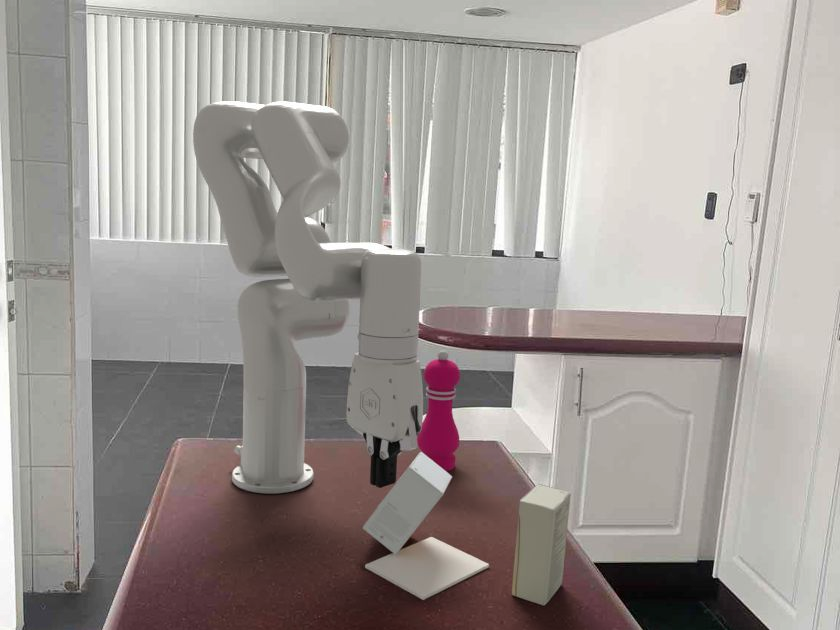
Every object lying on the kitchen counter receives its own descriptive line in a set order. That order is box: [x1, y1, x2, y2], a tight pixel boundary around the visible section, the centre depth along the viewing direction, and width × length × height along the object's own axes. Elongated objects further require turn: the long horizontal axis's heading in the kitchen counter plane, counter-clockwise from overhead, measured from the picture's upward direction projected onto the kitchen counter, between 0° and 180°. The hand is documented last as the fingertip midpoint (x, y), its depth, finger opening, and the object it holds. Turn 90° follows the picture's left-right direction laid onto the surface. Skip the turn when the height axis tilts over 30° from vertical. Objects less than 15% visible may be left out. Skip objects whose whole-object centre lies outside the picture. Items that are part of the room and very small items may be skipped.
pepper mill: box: [416, 349, 461, 472], centre depth 132 cm, size 7×7×20 cm
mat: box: [364, 536, 490, 601], centre depth 99 cm, size 10×12×1 cm
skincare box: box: [511, 483, 572, 606], centre depth 94 cm, size 6×4×12 cm
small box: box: [362, 451, 453, 554], centre depth 103 cm, size 8×6×10 cm
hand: (383, 483), depth 103 cm, fingers closed
